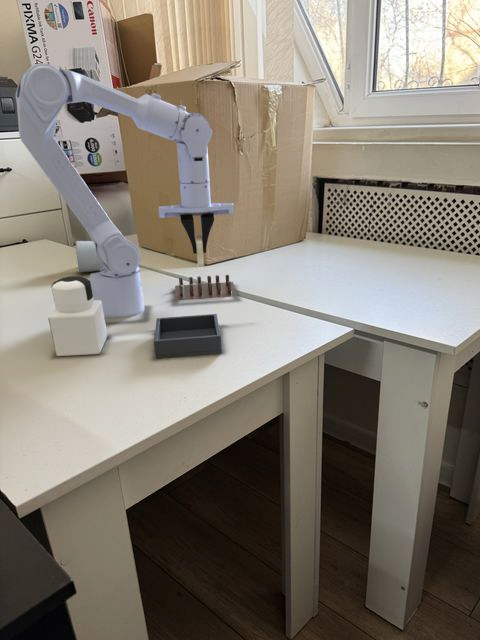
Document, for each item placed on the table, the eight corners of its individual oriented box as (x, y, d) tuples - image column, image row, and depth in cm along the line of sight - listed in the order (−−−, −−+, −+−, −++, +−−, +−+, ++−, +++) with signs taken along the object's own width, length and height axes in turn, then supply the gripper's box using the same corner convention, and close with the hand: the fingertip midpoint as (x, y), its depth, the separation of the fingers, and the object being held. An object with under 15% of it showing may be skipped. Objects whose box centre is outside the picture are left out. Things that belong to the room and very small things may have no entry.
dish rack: (175, 304, 105) (173, 289, 104) (175, 289, 114) (174, 275, 113) (237, 300, 107) (236, 285, 105) (233, 286, 116) (232, 271, 114)
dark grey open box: (156, 358, 82) (153, 341, 81) (158, 334, 91) (156, 318, 90) (221, 353, 83) (220, 336, 82) (217, 329, 93) (216, 313, 91)
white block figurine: (67, 339, 90) (53, 274, 85) (108, 337, 90) (97, 272, 85) (55, 357, 84) (40, 287, 78) (99, 354, 84) (87, 285, 79)
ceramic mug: (113, 272, 127) (109, 242, 123) (79, 275, 125) (74, 245, 121) (112, 262, 136) (107, 233, 132) (79, 265, 133) (74, 236, 130)
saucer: (198, 270, 101) (195, 238, 98) (197, 262, 107) (194, 231, 104) (204, 270, 101) (202, 238, 98) (202, 261, 107) (200, 231, 104)
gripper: (230, 178, 101) (233, 245, 107) (156, 180, 100) (163, 249, 105) (234, 182, 95) (236, 253, 101) (155, 185, 93) (163, 258, 99)
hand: (199, 252), depth 103 cm, fingers closed on saucer, 1 cm apart
